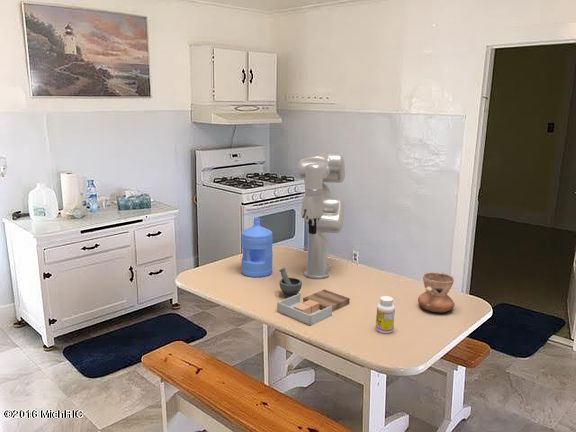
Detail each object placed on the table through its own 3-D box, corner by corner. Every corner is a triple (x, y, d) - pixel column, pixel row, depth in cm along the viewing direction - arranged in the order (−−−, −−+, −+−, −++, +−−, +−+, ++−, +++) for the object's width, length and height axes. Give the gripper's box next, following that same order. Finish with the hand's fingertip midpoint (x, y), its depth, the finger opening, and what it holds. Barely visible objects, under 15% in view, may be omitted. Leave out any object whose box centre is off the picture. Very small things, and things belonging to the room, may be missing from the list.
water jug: (254, 265, 255) (254, 212, 248) (278, 271, 246) (279, 217, 239) (234, 273, 243) (234, 218, 236) (259, 280, 234) (259, 223, 227)
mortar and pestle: (305, 296, 215) (306, 270, 213) (291, 302, 209) (292, 275, 206) (286, 289, 223) (287, 264, 220) (272, 295, 216) (272, 269, 213)
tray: (298, 302, 209) (299, 293, 208) (331, 315, 197) (332, 306, 196) (277, 311, 199) (277, 302, 198) (310, 325, 187) (310, 316, 186)
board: (324, 294, 217) (324, 289, 217) (349, 303, 208) (349, 298, 207) (303, 303, 208) (303, 298, 207) (328, 313, 198) (328, 307, 198)
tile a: (309, 306, 204) (309, 299, 203) (319, 309, 201) (319, 302, 200) (302, 309, 200) (302, 303, 199) (311, 313, 197) (312, 306, 196)
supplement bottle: (373, 326, 188) (375, 294, 185) (390, 325, 188) (392, 294, 185) (378, 334, 181) (380, 302, 178) (395, 333, 182) (398, 301, 179)
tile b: (301, 309, 200) (301, 302, 200) (310, 313, 197) (311, 306, 196) (293, 313, 197) (293, 306, 196) (303, 317, 193) (303, 310, 193)
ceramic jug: (441, 319, 194) (445, 286, 191) (409, 308, 204) (412, 276, 201) (461, 307, 207) (465, 276, 204) (430, 297, 217) (433, 267, 213)
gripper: (318, 189, 219) (316, 228, 223) (295, 193, 208) (294, 234, 212) (331, 191, 214) (329, 232, 218) (308, 196, 203) (307, 238, 207)
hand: (312, 233), depth 215 cm, fingers closed
